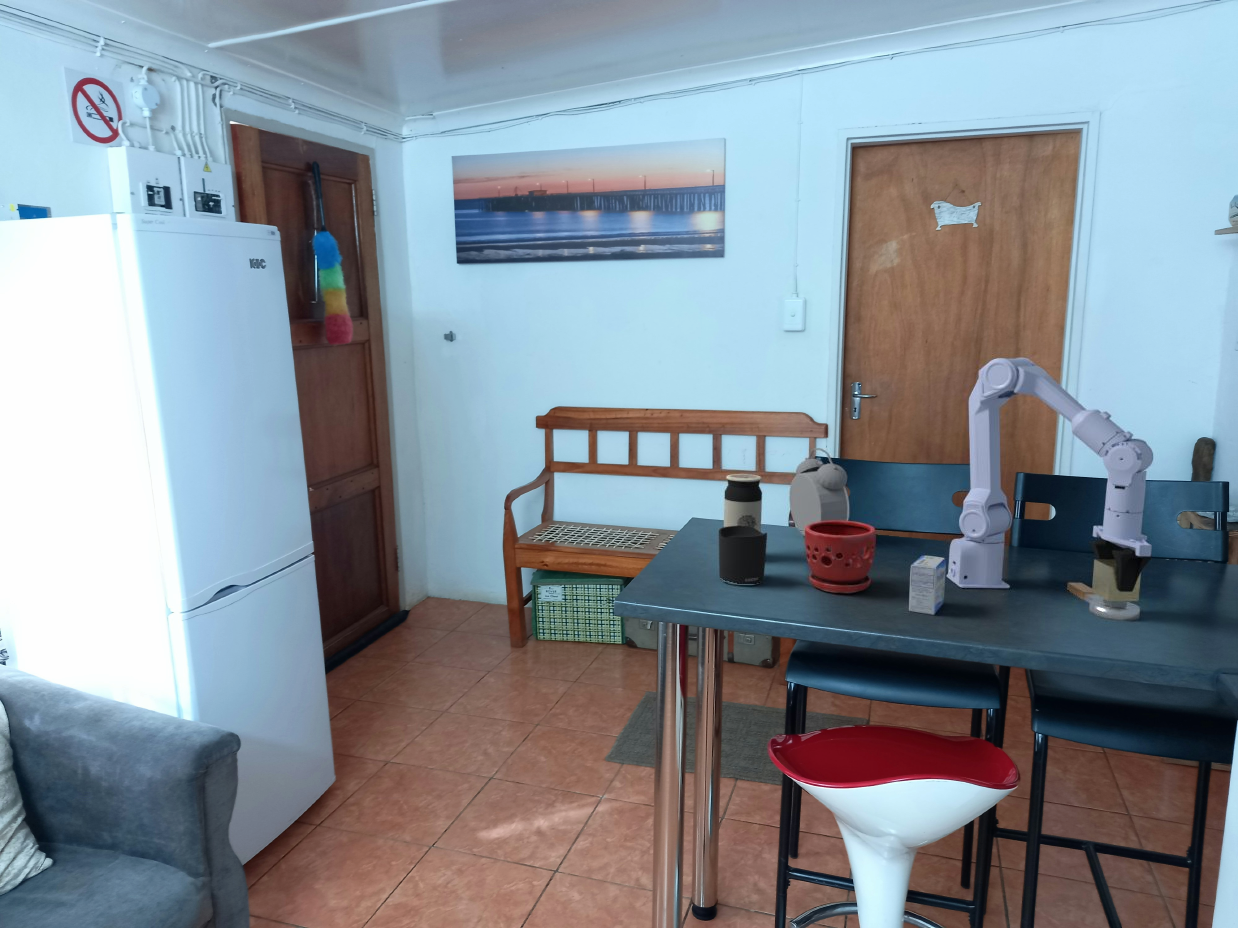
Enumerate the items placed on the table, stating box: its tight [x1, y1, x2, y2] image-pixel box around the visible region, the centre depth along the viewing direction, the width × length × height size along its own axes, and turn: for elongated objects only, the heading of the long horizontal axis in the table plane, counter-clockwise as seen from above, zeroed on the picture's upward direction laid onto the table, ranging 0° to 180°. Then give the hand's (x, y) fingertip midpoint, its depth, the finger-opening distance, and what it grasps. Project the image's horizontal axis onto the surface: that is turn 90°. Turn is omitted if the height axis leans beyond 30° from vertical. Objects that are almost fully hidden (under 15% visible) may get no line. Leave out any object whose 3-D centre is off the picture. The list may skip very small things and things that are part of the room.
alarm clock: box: [788, 447, 850, 537], centre depth 202 cm, size 16×9×22 cm, turn 17°
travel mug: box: [723, 473, 763, 533], centre depth 185 cm, size 8×8×18 cm
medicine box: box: [908, 555, 947, 616], centre depth 152 cm, size 8×4×9 cm, turn 148°
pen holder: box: [718, 526, 768, 584], centre depth 168 cm, size 9×9×10 cm
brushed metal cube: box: [1091, 558, 1142, 602], centre depth 149 cm, size 5×5×6 cm
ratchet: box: [1066, 582, 1141, 622], centre depth 155 cm, size 18×8×5 cm, turn 179°
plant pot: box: [804, 520, 877, 595], centre depth 164 cm, size 13×13×12 cm
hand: (1116, 586), depth 149 cm, fingers closed on brushed metal cube, 5 cm apart
